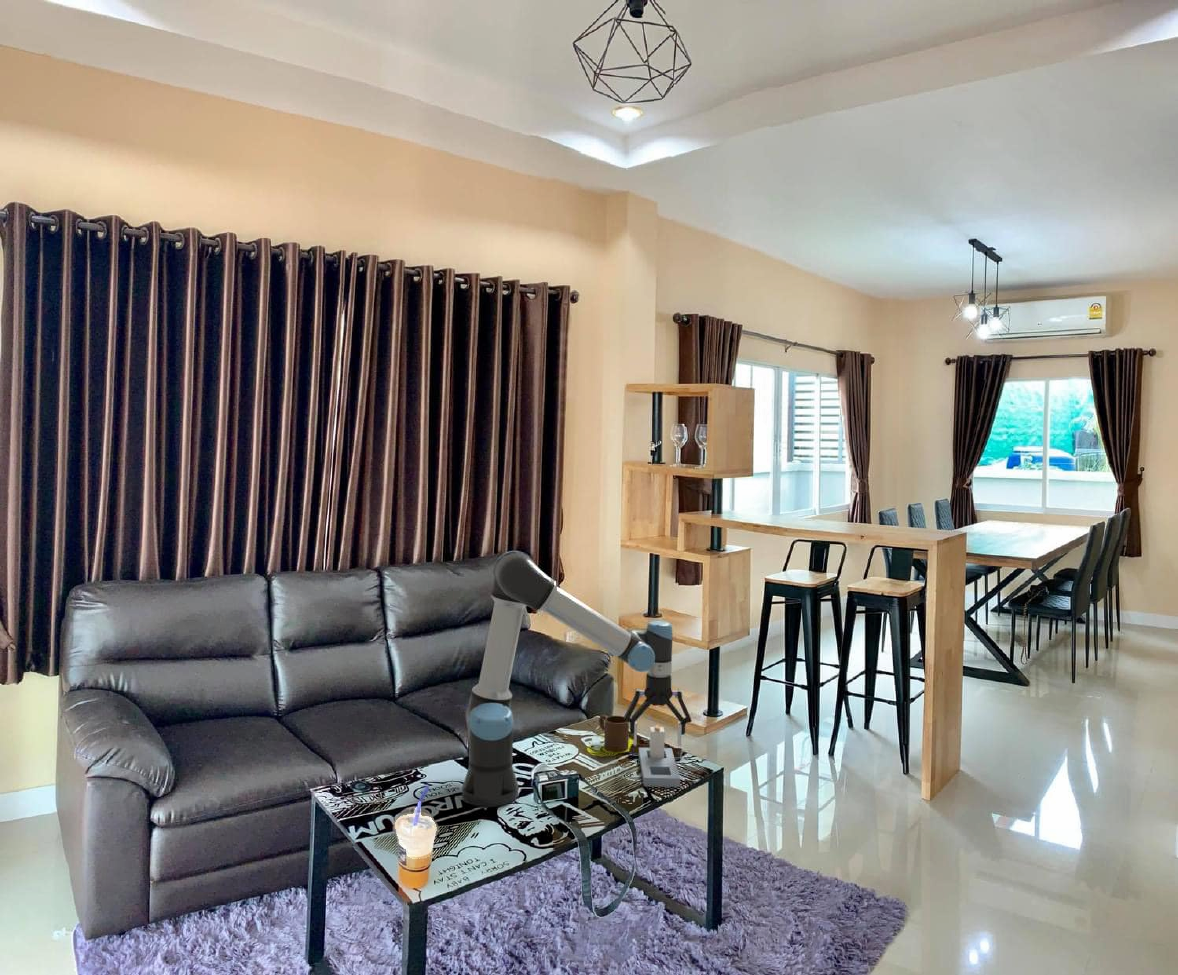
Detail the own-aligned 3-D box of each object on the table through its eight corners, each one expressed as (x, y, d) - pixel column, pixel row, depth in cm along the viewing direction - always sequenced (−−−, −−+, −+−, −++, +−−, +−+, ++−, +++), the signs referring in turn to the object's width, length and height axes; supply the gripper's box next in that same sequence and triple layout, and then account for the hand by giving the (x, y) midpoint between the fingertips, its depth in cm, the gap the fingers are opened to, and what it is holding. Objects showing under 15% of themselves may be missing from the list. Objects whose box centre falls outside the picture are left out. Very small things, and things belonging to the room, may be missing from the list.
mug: (590, 743, 257) (590, 714, 256) (608, 738, 262) (608, 709, 261) (615, 755, 248) (615, 725, 247) (633, 749, 252) (634, 720, 252)
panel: (643, 788, 225) (644, 777, 224) (638, 757, 247) (638, 747, 246) (679, 788, 225) (680, 778, 225) (671, 757, 247) (671, 748, 246)
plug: (650, 764, 240) (651, 728, 239) (649, 759, 244) (650, 724, 243) (663, 764, 240) (664, 729, 239) (662, 759, 244) (663, 724, 243)
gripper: (617, 676, 236) (616, 748, 237) (702, 678, 236) (700, 749, 238) (616, 669, 244) (615, 738, 245) (698, 670, 244) (696, 740, 245)
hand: (657, 744), depth 241 cm, fingers open, 12 cm apart
